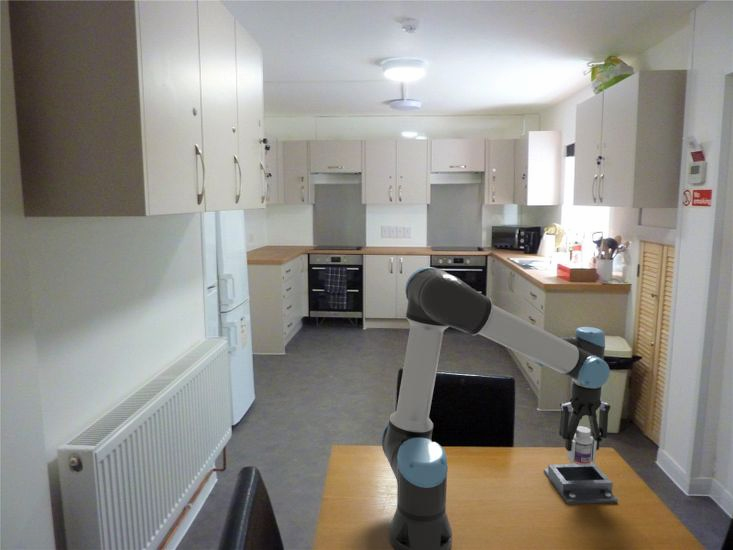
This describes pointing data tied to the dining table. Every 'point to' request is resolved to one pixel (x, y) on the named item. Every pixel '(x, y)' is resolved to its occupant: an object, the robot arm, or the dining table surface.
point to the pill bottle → (583, 446)
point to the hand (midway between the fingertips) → (581, 460)
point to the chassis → (581, 483)
